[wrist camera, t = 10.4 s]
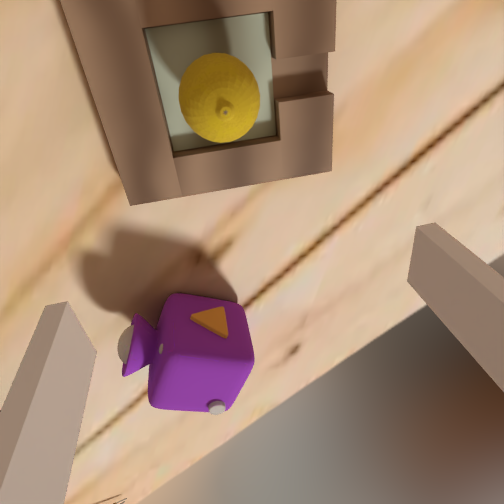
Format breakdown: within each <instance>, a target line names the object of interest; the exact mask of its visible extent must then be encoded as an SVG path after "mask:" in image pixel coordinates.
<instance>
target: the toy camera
mask: <svg viewBox="0 0 504 504" xmlns="http://www.w3.org/2000/svg"><path fill="white" fill-rule="evenodd" d="M118 354H119V357H120V359H121V360H122V362H123V368H122V376H123V377H125V376H128V375H130V374H132V373H134V372H136V371H138V370H139V369H141V368H143V367H145V366H146V365H149V378H148V399H149V402H150V404H151V406H153V407H155V408H158V409H166V410H181V411H198V412H209V413H211V414H213V415H218V414H221V413H223V412H224V411H226V410H228V409H229V408H230V407H231V406H232V404H233V403H234V401H235V399H236V398H237V396H238V394H239V392H240V390H241V388H242V387H243V385H244V383H245V381H246V379H247V378H248V376H249V374H250V372H251V370H252V368H253V365H254V351H253V346H252V341H251V337H250V332H249V328H248V323H247V319H246V315H245V312H244V309H243V307H242V306H241V305H239V304H237V303H234V302H230V301H225V300H219V299H213V298H207V297H201V296H195V295H189V294H182V293H175V294H172V295H170V296H169V297H168V299H167V300H166V302H165V304H164V307H163V310H162V312H161V315H160V318H159V321H158V324H157V327H156V330H155V329H154V328H153V327H152V326H151V325H150V324H149V323H148V322H147V321H146V320H145V319H144V318H143V317H142V316H140V315H139V314H137V313H136V314H135V315H134V317H133V320H132V323H131V326H129V327H128V328H127V329H125V330H124V332H123V333H122V334H121V336H120V339H119V342H118Z"/></svg>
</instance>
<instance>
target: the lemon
mask: <svg viewBox="0 0 504 504" xmlns="http://www.w3.org/2000/svg"><path fill="white" fill-rule="evenodd" d="M179 104H180V109H181V112H182V115H183V117H184V119H185V121H186V123H187V124H188V125H189V126H190V127H191V129H192V130H193V131H194V132H196V133H197V134H198V135H200V136H201V137H202V138H205V139H207V140H209V141H212V142H219V143H224V142H231V141H234V140H236V139H239V138H240V137H242V136H243V135H245V134H246V133H247V132H248V131H249V130H250V129H251V127H252V126H253V124H254V123H255V121H256V119H257V116H258V112H259V109H260V92H259V87H258V83H257V81H256V79H255V77H254V75H253V73H252V72H251V70H250V69H249V68H248V67H247V66H246V64H245V63H243V62H242V61H240V60H239V59H238V58H236V57H234V56H231V55H229V54H226V53H211V54H206V55H203V56H201V57H199V58H198V59H196V60H194V61H193V62H192V63H191V64H190V65H189V66H188V68H187V69H186V71H185V73H184V74H183V76H182V78H181V82H180V86H179Z"/></svg>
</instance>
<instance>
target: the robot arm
mask: <svg viewBox="0 0 504 504" xmlns="http://www.w3.org/2000/svg"><path fill="white" fill-rule="evenodd" d="M407 282H408V283H409V284H410V285H411V286H412V287H413V289H414V290H415V291H416V292H417V293H418V294H419V295H420V297H421V298H422V299H423V300H424V301H425V302H426V303H427V305H428V306H429V307H430V308H431V309H432V310H433V311H434V313H436V315H437V316H438V317H439V318H440V319H441V321H442V322H443V323H444V324H445V325H446V326H447V327H448V329H449V330H450V331H451V332H452V333H453V334H454V336H456V338H457V339H458V340H459V341H460V342H461V344H462V345H463V346H464V347H465V348H466V349H467V350H468V351H469V353H470V354H471V355H472V356H473V357H474V358H475V360H476V361H477V362H478V363H479V364H480V365H481V366H482V368H483V369H484V370H485V371H486V372H487V373H488V374H489V376H490V377H491V378H492V379H493V380H494V381H495V382H496V383H497V385H498V386H499V387H500V388H501V389H502V390H503V392H504V277H502V276H501V275H500V274H499V273H497V272H496V271H495V270H494V269H492V268H491V267H490V266H489V265H487V264H486V263H485V262H484V261H482V260H481V259H480V258H479V257H477V256H476V255H475V254H474V253H472V252H471V251H470V250H469V249H467V248H466V247H465V246H464V245H462V244H461V243H460V242H459V241H457V240H456V239H455V238H454V237H452V236H451V235H450V234H449V233H447V232H446V231H445V230H444V229H443V228H441V227H440V226H439V225H438V224H436V223H431V224H426V225H421V226H417V227H416V232H415V238H414V244H413V250H412V256H411V261H410V267H409V273H408V279H407ZM96 354H97V351H96V349H95V348H94V346H93V344H92V343H91V341H90V339H89V337H88V336H87V334H86V332H85V330H84V329H83V327H82V325H81V324H80V322H79V320H78V318H77V317H76V315H75V313H74V311H73V310H72V308H71V306H70V305H69V303H68V301H67V302H62V303H57V304H53V305H48V306H45V308H44V311H43V313H42V315H41V318H40V320H39V322H38V325H37V327H36V329H35V332H34V334H33V336H32V339H31V341H30V343H29V346H28V348H27V350H26V353H25V355H24V357H23V360H22V362H21V364H20V367H19V369H18V372H17V374H16V376H15V379H14V381H13V383H12V386H11V388H10V390H9V393H8V395H7V397H6V400H5V402H4V404H3V407H2V409H1V411H0V504H64V500H65V496H66V491H67V487H68V482H69V478H70V473H71V468H72V464H73V459H74V455H75V450H76V445H77V441H78V436H79V432H80V427H81V422H82V418H83V413H84V409H85V404H86V399H87V395H88V390H89V386H90V381H91V377H92V372H93V367H94V363H95V358H96Z"/></svg>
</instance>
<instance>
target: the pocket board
mask: <svg viewBox="0 0 504 504" xmlns="http://www.w3.org/2000/svg"><path fill="white" fill-rule="evenodd" d="M60 2H61V5H62V8H63V11H64V14H65V17H66V20H67V22H68V25H69V28H70V31H71V34H72V37H73V40H74V43H75V46H76V49H77V52H78V55H79V58H80V60H81V63H82V66H83V69H84V72H85V75H86V78H87V81H88V84H89V87H90V90H91V93H92V96H93V98H94V101H95V104H96V107H97V110H98V113H99V116H100V119H101V122H102V125H103V128H104V131H105V134H106V136H107V139H108V142H109V145H110V148H111V151H112V154H113V157H114V160H115V163H116V166H117V169H118V172H119V174H120V177H121V180H122V183H123V186H124V189H125V192H126V195H127V198H128V201H129V204H130V206H132V205H138V204H144V203H150V202H155V201H161V200H167V199H173V198H179V197H184V196H190V195H196V194H202V193H208V192H213V191H219V190H225V189H231V188H237V187H242V186H248V185H254V184H260V183H266V182H271V181H277V180H283V179H289V178H295V177H300V176H306V175H312V174H318V173H323V172H329V171H332V142H333V105H334V94H333V93H331V92H329V91H327V78H328V52H333V51H335V32H336V0H60ZM211 53H226V54H229V55H231V56H234V57H236V58H238V59H239V60H240V61H242V62H243V63H245V64H246V66H247V67H248V68H249V69H250V70H251V72H252V73H253V75H254V77H255V79H256V81H257V83H258V87H259V92H260V109H259V112H258V116H257V119H256V121H255V123H254V124H253V126H252V127H251V129H250V130H249V131H248V132H247V133H246V134H245V135H243V136H242V137H240V138H239V139H236V140H234V141H231V142H224V143H219V142H212V141H209V140H207V139H205V138H202V137H201V136H200V135H198V134H197V133H196V132H194V131H193V130H192V129H191V127H190V126H189V125H188V124H187V123H186V121H185V119H184V117H183V115H182V112H181V109H180V104H179V86H180V82H181V78H182V76H183V74H184V73H185V71H186V69H187V68H188V66H189V65H190V64H191V63H192V62H193V61H194V60H196V59H198V58H199V57H201V56H203V55H206V54H211Z"/></svg>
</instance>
